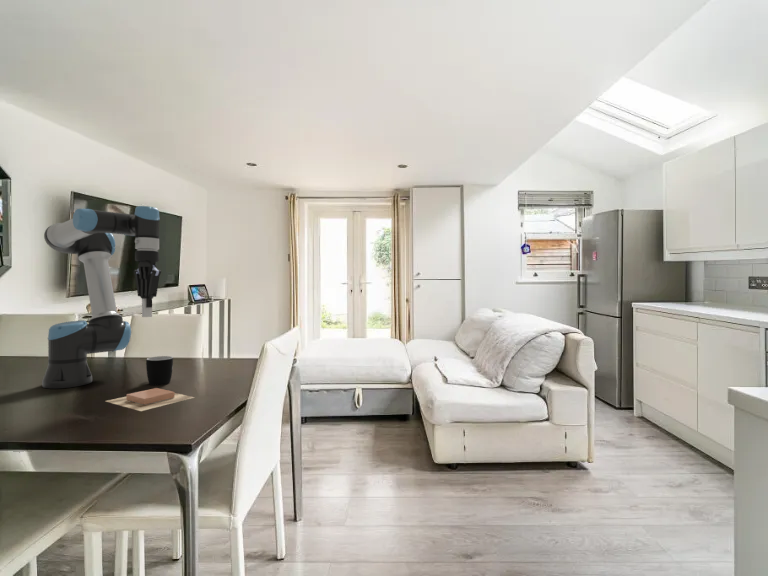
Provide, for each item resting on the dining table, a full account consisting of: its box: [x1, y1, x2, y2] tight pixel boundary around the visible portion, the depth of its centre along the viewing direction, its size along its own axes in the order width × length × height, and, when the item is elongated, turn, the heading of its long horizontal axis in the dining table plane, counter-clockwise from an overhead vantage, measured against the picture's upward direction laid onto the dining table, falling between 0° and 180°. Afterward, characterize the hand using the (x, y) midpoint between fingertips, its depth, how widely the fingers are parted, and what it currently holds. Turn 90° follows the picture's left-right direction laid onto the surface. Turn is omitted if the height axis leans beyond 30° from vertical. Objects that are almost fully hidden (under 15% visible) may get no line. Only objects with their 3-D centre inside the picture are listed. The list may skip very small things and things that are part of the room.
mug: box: [145, 355, 174, 386], centre depth 162 cm, size 12×9×10 cm
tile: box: [125, 387, 175, 405], centre depth 139 cm, size 2×10×10 cm
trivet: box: [104, 392, 196, 412], centre depth 139 cm, size 20×18×1 cm
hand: (146, 316), depth 152 cm, fingers closed
